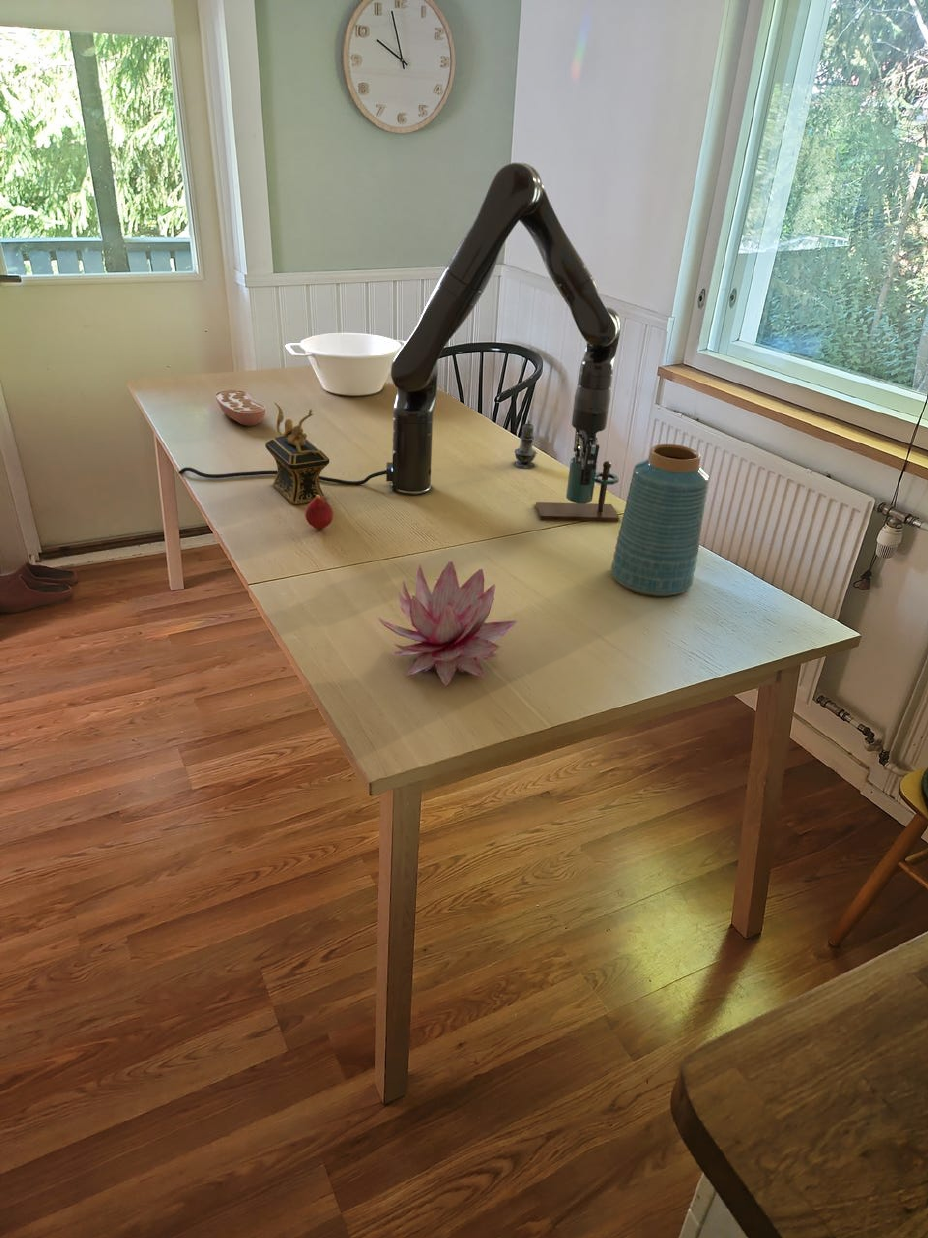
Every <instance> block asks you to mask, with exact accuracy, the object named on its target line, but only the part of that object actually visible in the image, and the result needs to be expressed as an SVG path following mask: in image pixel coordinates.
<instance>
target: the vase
mask: <svg viewBox="0 0 928 1238" xmlns="http://www.w3.org/2000/svg"><path fill="white" fill-rule="evenodd" d="M700 463H701V453H700V452H698V451H697V449H694V448H692V447H689V446H686V445H681V444H674V443H660V444H655V445H653V446H652V447H651V448H650V452H649V455H648V458H646V459H643V460H641V461H639V462H638V463H636V464H635V465H634V468H633V473H632V477H631V482H630V485H629V489H628V494H627V498H626V502H625V507H624V511H623V514H622V519H621V525H620V527H619V531H618V536H617V538H616V543H615V547H614V553H613V556H612V560H611V563H610V564H611V565H610V573H611V575H612V577H613V579H615V581H616V582H618V583H619V584H620V585H621V586H623V587H624V588H626V589H627V590H629V591H632V592H634V593H637V594H640V595H644V596H650V597H671V596H676V595H679V594H682V593H684V592H686V591H687V590H689V589H690V588H691V587H692V586H693V583H694V580H695V579H694V578H695V573H696V567H697V566H696V565H697V561H698V555H699V547H700V540H701V539H700V538H701V532H702V525H703V520H704V513H705V508H706V501H707V495H708V494H707V493H708V487H709V484H710V476H709V473H708V472H707V471H706V470H705V469H703V468H702V467H701V466H700Z"/></svg>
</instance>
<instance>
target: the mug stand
mask: <svg viewBox="0 0 928 1238" xmlns="http://www.w3.org/2000/svg"><path fill="white" fill-rule="evenodd" d="M602 467H603V469H602V472H603V475H602V477H601V479H602V480H609V473H610V470H611V468H612V463H611V462H610V461H608V460H606V461H604V462H603V463H602ZM599 489H600V490H599V496H598V502H597V503H594V502H593V503H592V502H589V503H575V502H552V501H551V502H550V501H536V502H535V508H536V512H537V514H538V517H539V518H540V521H568V522H569V521H571V522H572V521H575V522H613V523H614V522H615V523H618V522H619V520H620V517H619V514H618V513H617V512H616V510H615V508H614V507H613V504H612V503H606V495H607V489H608V485H604V484H600V488H599Z"/></svg>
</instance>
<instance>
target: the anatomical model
mask: <svg viewBox="0 0 928 1238" xmlns="http://www.w3.org/2000/svg"><path fill="white" fill-rule="evenodd" d="M214 397H215V400H216V402H217V404H218V406H219V408H220V409H221V410H222V412H223V413H224V414H225V415H226V416H227V417H229V418H230V419H232V420H233V421H234V422H237V423H238V424H240V425H243V426H246V427H253V426H256V425H258V424H259V423H261V422H262V421H263V419H264V417H265V415H266V406H265V405H263V404H261V403H259V402H257V401H256V400H254V399H253V397H251V396H250V395H249V394H248V392H247V391H244V390H241V389H225V390H219V391H217V392H216V393H215V395H214Z"/></svg>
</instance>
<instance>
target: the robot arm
mask: <svg viewBox="0 0 928 1238" xmlns="http://www.w3.org/2000/svg"><path fill="white" fill-rule="evenodd" d="M519 222H520V223H521V224H522V226H523V227H524V228H525V229H526V231H527V232H528V234H529V236H530V237H531V239H532V240H533V242H534V244H535V246H536V248H537V250H538V252H539V254H540V256H541V259H542V261H543V263H544V266H545V269H546V271H547V273H548V276H549V277H550V278H551V280H552V282H553V284H554V286H555V287H556V289H557V290H558V292H559V294H560V295H561V297H562V298H563V300H564V302H565V303H566V305H567V307H568V308H569V310H570V312H571V316H572V318H573V320H574V322H575V325H576V327H577V329H578V331H579V333H580V335H581V336H582V338H583V339H584V341H585V342H586V343H585V348H584V349H585V350H584V355H583V357H582V360H581V362H580V366H579V373H578V379H577V386H576V390H575V395H574V402H573V411H572V419H571V425H572V427H573V428H574V429H575V435H574V436H575V437H574V444H573V452H574V457H579V456H580V458H581V459H582V465H581V475H580V484H581V485H589V484H590V479H591V472H592V470H595V468H596V462H598V456H599V451H600V444H598V443H599V440H598V437H597V433H599V432H603V431H605V430H606V429H607V424H608V417H609V410H610V402H611V388H612V380H613V373H614V363H615V358H616V355H617V351H618V345H619V342H620V336H621V331H622V320H621V317H620V315H619V313H618V312H617V311H616V310H615V309H613V308H611V307H606V306H605V304H604V302H603V300H602V299H601V296H600V295H599V288H598V285H597V282H596V281H595V279H594V277H593V275H592V273H591V272H590V270H589V268H588V267H587V266H586V264H585V262H584V261H583V259H582V257H581V256H580V254H579V253H578V251H577V249H576V248H575V246H574V245H573V243H572V241H571V239H570V238H569V236H568V235H567V233H566V232H565V230H564V228H563V226H562V225H561V222H560V221H559V218H558V217H557V214H556V212H555V210H554V208H553V205H552V204H551V201H550V199H549V196H548V193H547V191H546V189H545V186H544V183H543V181H542V178H541V176H540V174H539V172H538V171H537V170H536V169H535V168H534V167H533V166H532V165H530V164H528V163H524V162H510V163H507V164H505V165H503V166H502V167H501V168H499V170H498V171H497V172H496V173H495V175H494V176H493V178H492V180H491V183H490V184H489V187H488V190H487V192H486V194H485V197H484V198H483V201H482V203H481V206H480V208H479V210H478V212H477V215H476V217H475V219H474V220H473V222H472V225H471V226H470V228H469V229H468V231H467V232H466V234H465V236H463V238H462V240H461V241H460V243H459V245H458V246H457V247H456V250H455V251H454V252H453V255H452V256H451V258H450V259H449V261H448V263H447V264H446V266H445V268H444V269H443V271H442V273H441V275H440V276H439V278H438V281H437V282H436V284H435V286H434V287H433V290H432V293H431V294H430V296H429V299H428V300H427V303H426V305H425V307H424V309H423V311H422V314H421V317H420V318H419V321H418V322H417V324H416V326H415V328H414V330H413V331H412V333H411V335H410V336H409V337H408V339H407V340H406V343H405V344H403V345H402V349H401V350H400V351H399V353H398V354H397V355H396V356H395V358H394V360H393V362H392V365H391V370H390V378H391V381H392V383H393V385H394V386H395V387H396V390H397V391H396V397H395V400H394V404H393V409H392V459H391V460H392V462H388V461H387V462H386V467H385V468H386V469H384V470H381V471H377V472H374V473H371V474H369V475H367V476H366V477H365V478H364V479H362V480H358V481H357V480H356V481H355V480H353V481H352V480H345V479H339V478H333V477H328V476H322V475H319V481H324V482H329V483H334V484H335V483H336V484H341V485H347V486H360V485H364V484H366V483H368V482H369V481H370V480H371V479H373V478H376V477H380V476H383V475H385V476H386V478H385V481H386V482H391V492H393V493H400V494H403V495H408V496H409V495H410V496H411V495H413V496H415V495H422V494H426V493H428V492H430V491H431V489H432V460H433V459H432V457H433V436H434V435H433V432H434V413H435V412H434V411H435V407H436V403H437V392H438V391H437V389H438V375H439V374H438V373H439V369H438V368H439V367H438V360H439V358H440V357H441V354H442V352H443V350H444V349H445V347H446V346H447V344H448V342H449V341H450V340H451V338H452V337H453V336H454V334H455V333H456V332H457V331H458V330H459V329H460V328H461V326H462V325H463V324H464V322H465V321H466V319H467V318H468V317H469V315H470V314H471V313H472V311H473V310H474V308H475V307H476V305H477V304H478V302H479V300H480V298H481V297H482V295H483V294H484V292H485V290H486V289H487V286H488V284H489V283H490V280H491V278H492V276H493V274H494V273H493V272H494V270H495V267H496V265H497V262H498V258H499V256H500V254H501V250H502V249H503V246H504V245H505V242H507V241H506V240H507V239H508V238H509V236H510V234H511V233H512V232H513V230H514V229H515V227H516V225H517V224H518V223H519ZM589 460H590V464H587V463H588V461H589ZM277 471H278V470H253V471H251V470H250V471H237V472H228V473H207V472H206V473H205V472H202V471H200V470H198V469H196V468H193V467H190V466H189V467H188V466H187V467H186V466H185V467H183V468H181V469H180V470H179V471H178V472H177V473H178V474H179V475H181V474H185V472H190V473H194V474H195V475H198V476H200V477H203V478H205V479H223V478H234V477H247V476H260V475H277Z"/></svg>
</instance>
